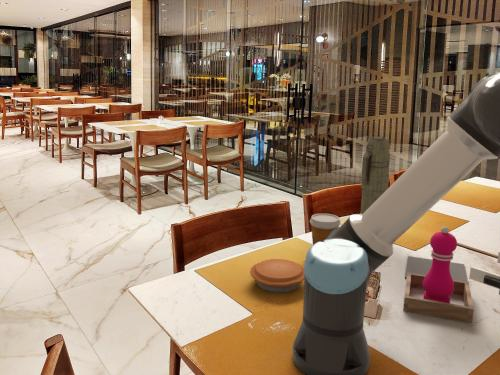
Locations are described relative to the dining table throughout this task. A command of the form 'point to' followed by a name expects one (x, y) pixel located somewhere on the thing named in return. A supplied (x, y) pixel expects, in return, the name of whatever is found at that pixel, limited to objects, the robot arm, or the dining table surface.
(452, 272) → the grey square plate
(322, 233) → the disposable coffee cup
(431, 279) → the pepper mill
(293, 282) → the pie
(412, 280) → the walnut tray
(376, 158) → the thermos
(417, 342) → the dining table surface
